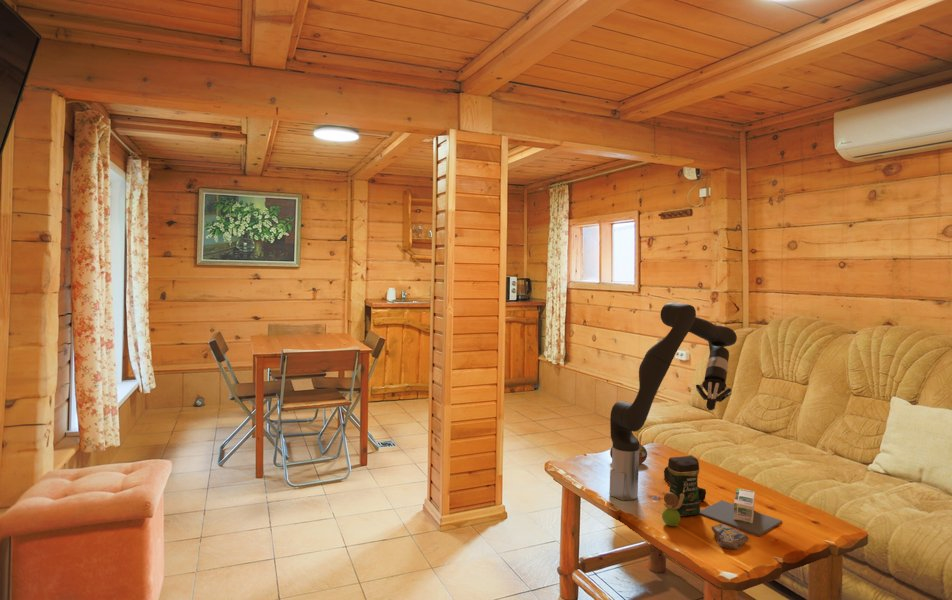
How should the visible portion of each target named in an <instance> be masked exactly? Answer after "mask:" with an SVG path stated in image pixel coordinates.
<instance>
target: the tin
mask: <svg viewBox="0 0 952 600" xmlns="http://www.w3.org/2000/svg"><path fill="white" fill-rule="evenodd" d="M612 448H613V445H612V446H611V448H610V450H609V452H610V453H609V455H610V458H611V459H612ZM647 457H648V451H647V448H646V447H645V446H643V444H640V446H639V465H641V464H643V463H644V462H645V461H646V460H647Z"/></svg>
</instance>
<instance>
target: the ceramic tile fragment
mask: <svg viewBox="0 0 952 600" xmlns="http://www.w3.org/2000/svg"><path fill="white" fill-rule="evenodd" d="M711 530H712V532H713V534H714V537H715V540H716V541H717V542H716V544H717V545H718V546H719V547H721V548H724V549H725V548H726V549H731V550H734V551H738V550H739V549H741V547H742V546H744V545H745V544H746V543H748V541H749V539H750V537H749V536H748V535H747V534H746V533H745V532H742V531H741V530H739V529H738V530H737V529H735V528H734V527H731V526H729V525H727V524H724V523H719V524H718V523H717V524H715V525H713V526H712V525H711Z"/></svg>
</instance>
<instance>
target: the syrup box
mask: <svg viewBox="0 0 952 600" xmlns="http://www.w3.org/2000/svg"><path fill="white" fill-rule="evenodd" d="M755 494H756V493H755V491H754V490H753V491H752V490H748V489H743V488H738V487H737V488H736V491H735V496H734V500H733V504H734V518H733V519H734V520H739V521H743V522H748V523H753V515H754V511H755V500H756V498H755V497H756V495H755Z"/></svg>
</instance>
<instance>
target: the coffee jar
mask: <svg viewBox="0 0 952 600" xmlns="http://www.w3.org/2000/svg"><path fill="white" fill-rule="evenodd" d="M668 458H669V459H668V464H667V467H668V470H669V472H670V483H669V492H670V493H674V494H675V495H676V496H677V497H678V500H679V499H680V494H683V490H685V492H684V495H685V496H684V499H683V502H682V505H681V507H680V508H679V509H676V510H677V511H678V512H679V514H680V517H686V516H687V517H688V516H694V515H700V514H699V512H700V510H701V504H700V502H701V501H699V494H698V487H699V486H698V484H699V483H698V478H699V474H700V470H701V469H700V463H699V460H698V458H696V457H695V456H694V455H685V456H675V457H673V456H671V457H668Z"/></svg>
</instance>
